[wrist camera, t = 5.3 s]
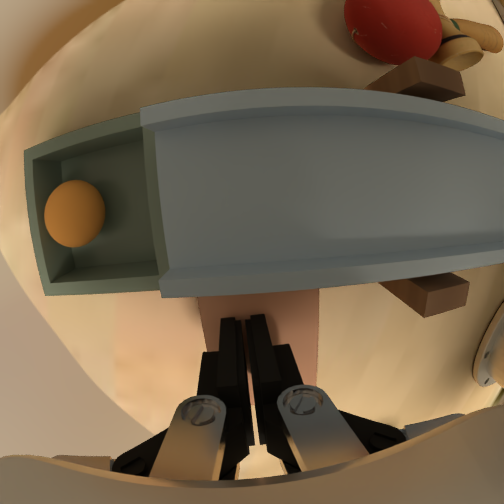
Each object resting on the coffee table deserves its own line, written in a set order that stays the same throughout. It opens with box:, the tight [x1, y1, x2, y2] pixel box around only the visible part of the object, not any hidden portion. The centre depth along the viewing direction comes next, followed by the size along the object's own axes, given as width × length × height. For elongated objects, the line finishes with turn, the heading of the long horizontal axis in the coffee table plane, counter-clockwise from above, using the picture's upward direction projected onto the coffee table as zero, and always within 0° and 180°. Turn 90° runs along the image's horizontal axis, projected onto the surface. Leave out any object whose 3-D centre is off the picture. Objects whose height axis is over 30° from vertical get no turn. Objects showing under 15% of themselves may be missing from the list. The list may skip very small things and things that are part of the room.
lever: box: [140, 87, 504, 405], centre depth 9 cm, size 20×12×4 cm, turn 95°
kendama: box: [344, 0, 503, 71], centre depth 10 cm, size 8×6×18 cm
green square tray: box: [24, 112, 170, 296], centre depth 13 cm, size 8×8×4 cm
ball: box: [44, 180, 105, 247], centre depth 12 cm, size 4×4×4 cm
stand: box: [362, 56, 470, 318], centre depth 11 cm, size 21×9×8 cm, turn 95°
